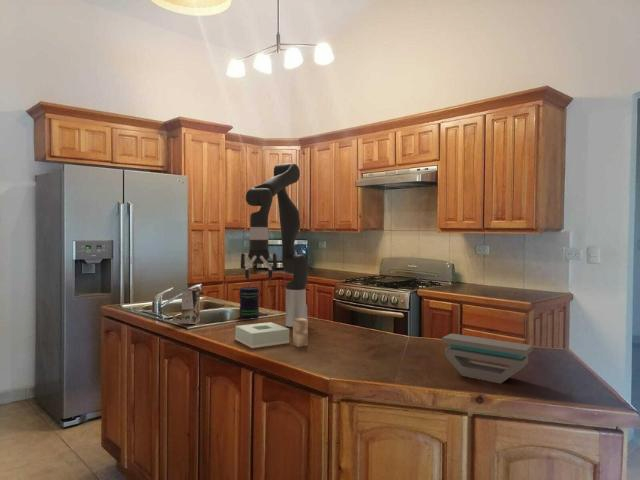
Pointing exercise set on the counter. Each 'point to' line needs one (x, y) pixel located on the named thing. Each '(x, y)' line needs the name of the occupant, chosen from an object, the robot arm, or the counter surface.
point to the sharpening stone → (485, 356)
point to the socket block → (262, 334)
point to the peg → (300, 332)
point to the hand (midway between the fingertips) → (258, 279)
